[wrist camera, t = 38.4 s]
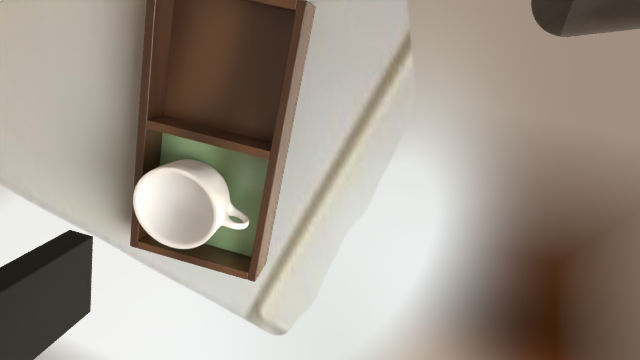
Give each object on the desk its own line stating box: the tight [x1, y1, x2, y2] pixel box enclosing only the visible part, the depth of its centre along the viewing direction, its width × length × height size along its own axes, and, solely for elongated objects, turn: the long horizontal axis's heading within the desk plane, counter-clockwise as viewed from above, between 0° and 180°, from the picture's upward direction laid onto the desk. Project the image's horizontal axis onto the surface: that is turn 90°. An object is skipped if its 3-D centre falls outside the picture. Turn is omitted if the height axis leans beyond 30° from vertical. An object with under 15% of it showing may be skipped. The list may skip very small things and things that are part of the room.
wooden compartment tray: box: [130, 0, 315, 282], centre depth 37 cm, size 13×25×4 cm, turn 168°
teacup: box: [133, 159, 249, 249], centre depth 38 cm, size 10×8×5 cm
